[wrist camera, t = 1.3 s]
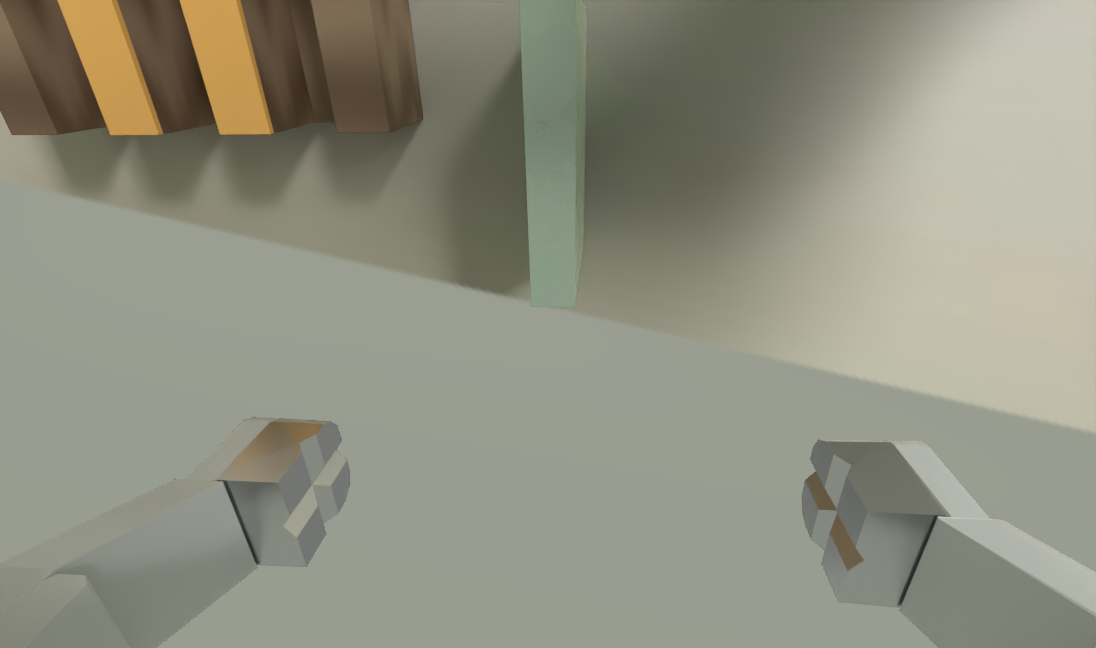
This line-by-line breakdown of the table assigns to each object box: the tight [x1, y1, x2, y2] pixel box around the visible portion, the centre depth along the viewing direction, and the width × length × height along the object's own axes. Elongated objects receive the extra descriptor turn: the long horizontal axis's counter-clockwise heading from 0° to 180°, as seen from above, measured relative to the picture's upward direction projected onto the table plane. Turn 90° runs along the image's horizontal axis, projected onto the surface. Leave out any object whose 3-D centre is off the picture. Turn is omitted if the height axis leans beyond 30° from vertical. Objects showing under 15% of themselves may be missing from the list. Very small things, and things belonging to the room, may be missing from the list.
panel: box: [519, 0, 587, 308], centre depth 25 cm, size 12×2×9 cm, turn 1°
